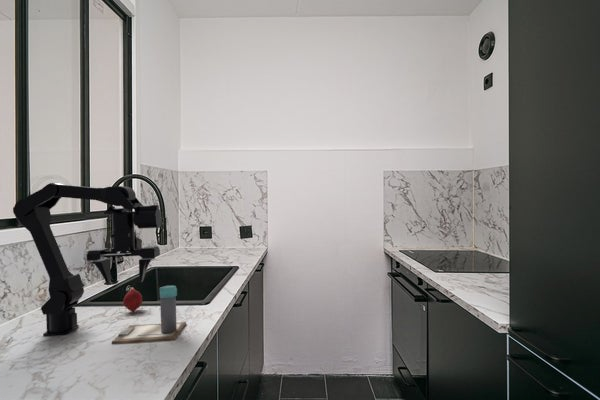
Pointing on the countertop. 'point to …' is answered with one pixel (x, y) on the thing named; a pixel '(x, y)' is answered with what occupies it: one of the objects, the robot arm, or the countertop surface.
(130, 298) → the red rounded piece
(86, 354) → the countertop surface
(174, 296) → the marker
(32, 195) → the robot arm
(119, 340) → the clipboard
